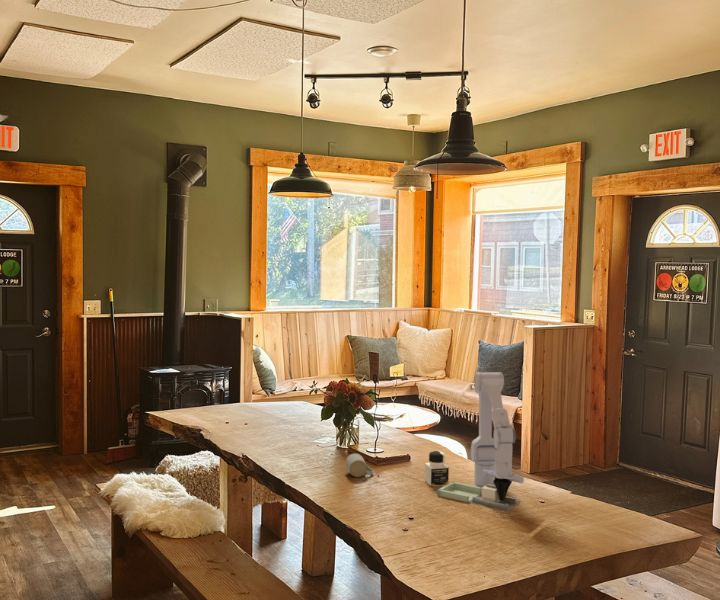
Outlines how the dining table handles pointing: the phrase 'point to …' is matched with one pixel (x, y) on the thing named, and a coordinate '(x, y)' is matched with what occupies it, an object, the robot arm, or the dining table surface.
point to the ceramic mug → (357, 466)
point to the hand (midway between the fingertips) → (502, 499)
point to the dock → (495, 502)
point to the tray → (459, 491)
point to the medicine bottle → (436, 469)
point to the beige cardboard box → (490, 493)
